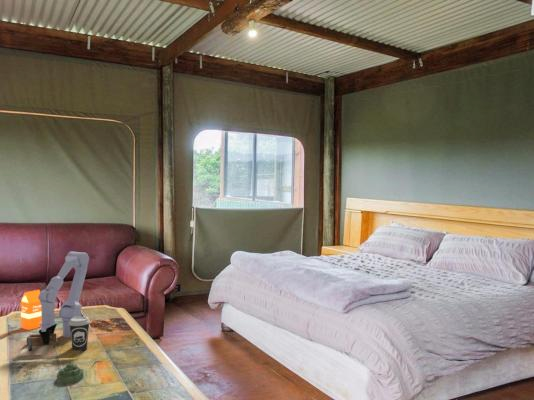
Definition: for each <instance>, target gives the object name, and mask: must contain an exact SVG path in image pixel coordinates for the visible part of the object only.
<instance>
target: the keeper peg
mask: <svg viewBox="0 0 534 400" xmlns="http://www.w3.org/2000/svg"><path fill="white" fill-rule="evenodd" d="M28 351H32V339H29V340H28Z"/></svg>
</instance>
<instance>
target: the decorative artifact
mask: <svg viewBox="0 0 534 400" xmlns="http://www.w3.org/2000/svg"><path fill="white" fill-rule="evenodd" d="M83 379H84V369H83V368H80V367H79V366H78V365H77V364H74V363H73V362H71V361H69V363H68V364H66V366H64V367H63V368H59V371H58V372H57V374H56V382H57V383H58V384H62V385H66V384H74V383H77V382H80V381H82V380H83Z"/></svg>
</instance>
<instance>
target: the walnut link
mask: <svg viewBox="0 0 534 400" xmlns="http://www.w3.org/2000/svg"><path fill="white" fill-rule="evenodd" d="M29 339H32V346H45V345H54V343H55V342H56V340H57V333H55V332H54V334H50V339H49V344H44V343H43V340H42V337H41V335H40V333H38V334H37V333H36V334H29V335H28V336H27V337H26V346H28V340H29ZM56 343H57V342H56ZM54 346H55V345H54Z"/></svg>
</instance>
